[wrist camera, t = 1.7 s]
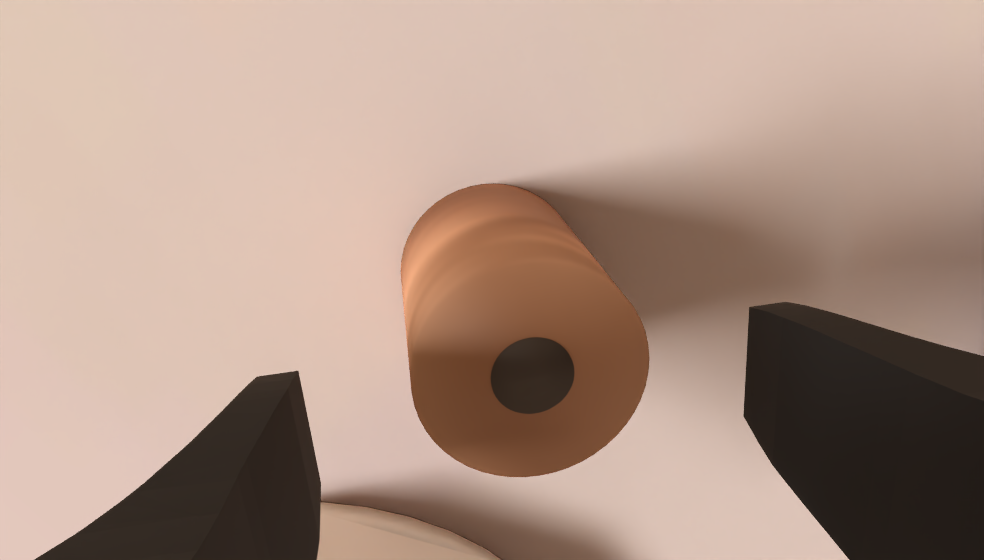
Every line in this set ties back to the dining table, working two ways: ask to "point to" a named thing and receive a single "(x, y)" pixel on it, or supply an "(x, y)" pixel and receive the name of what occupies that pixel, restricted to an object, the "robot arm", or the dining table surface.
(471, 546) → the ring tray
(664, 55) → the dining table surface
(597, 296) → the pepper mill
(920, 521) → the robot arm
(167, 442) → the dining table surface
